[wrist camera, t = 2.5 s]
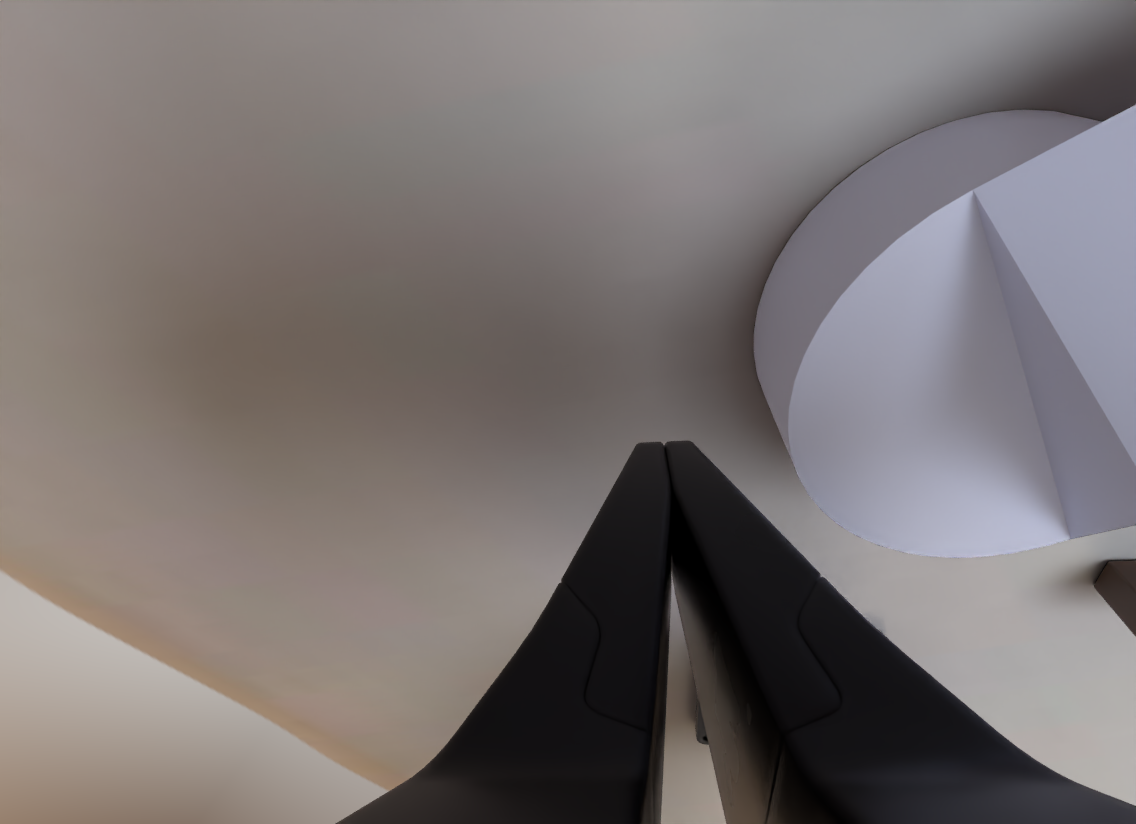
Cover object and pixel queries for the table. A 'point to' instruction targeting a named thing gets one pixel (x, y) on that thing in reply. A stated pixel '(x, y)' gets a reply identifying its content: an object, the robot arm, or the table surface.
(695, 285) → the table surface
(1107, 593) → the bay
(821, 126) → the table surface
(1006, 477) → the wedge on round base
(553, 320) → the table surface
